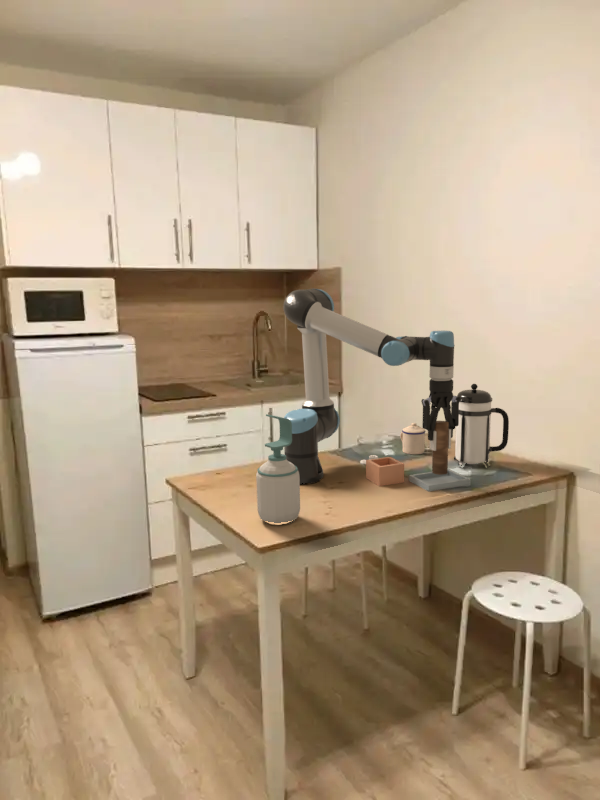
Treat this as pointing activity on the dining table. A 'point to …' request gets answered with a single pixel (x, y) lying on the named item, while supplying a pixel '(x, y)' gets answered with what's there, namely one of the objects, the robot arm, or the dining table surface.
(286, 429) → the soap bottle
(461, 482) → the slate tray
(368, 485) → the dining table surface
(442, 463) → the walnut dowel
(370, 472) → the terracotta square box
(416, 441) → the teacup with lid
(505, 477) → the dining table surface
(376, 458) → the teacup and saucer
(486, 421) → the coffee press
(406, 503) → the dining table surface
